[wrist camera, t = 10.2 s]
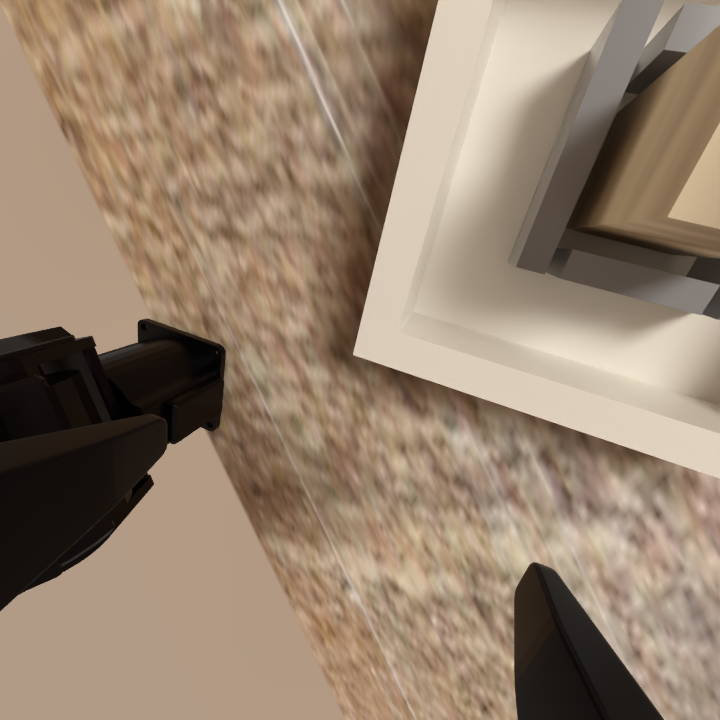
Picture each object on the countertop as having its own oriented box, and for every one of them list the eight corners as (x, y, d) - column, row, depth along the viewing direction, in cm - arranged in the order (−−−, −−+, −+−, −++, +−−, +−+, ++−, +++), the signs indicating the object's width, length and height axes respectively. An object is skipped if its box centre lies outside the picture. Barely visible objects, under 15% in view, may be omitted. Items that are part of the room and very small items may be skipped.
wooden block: (565, 228, 14) (667, 216, 7) (617, 113, 12) (822, -63, 5) (672, 254, 13) (917, 273, 6) (742, 136, 12) (1185, -32, 4)
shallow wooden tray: (381, 326, 19) (352, 355, 14) (502, -127, 12) (522, -346, 8) (738, 439, 15) (849, 522, 11) (1167, -93, 9) (1894, -438, 4)
